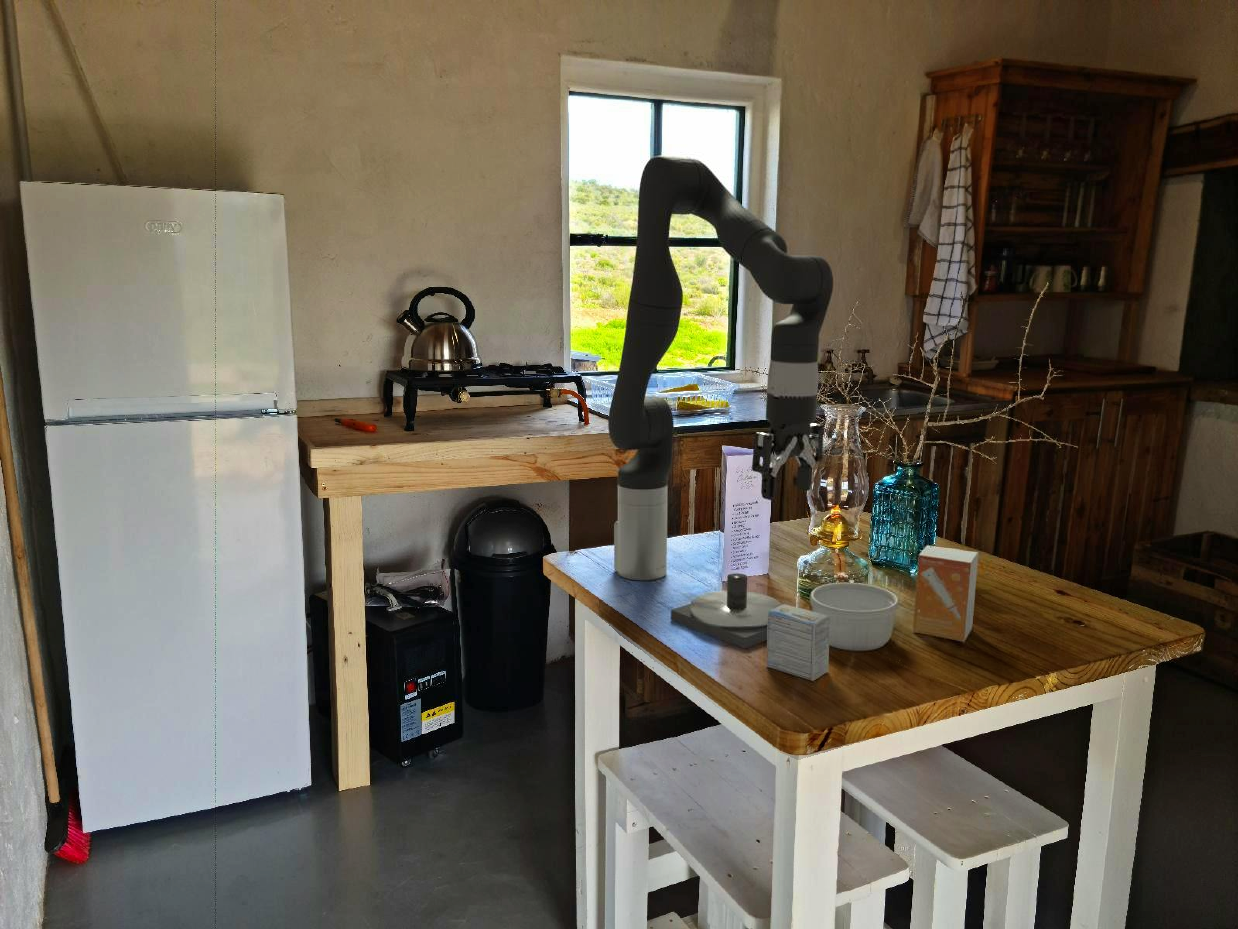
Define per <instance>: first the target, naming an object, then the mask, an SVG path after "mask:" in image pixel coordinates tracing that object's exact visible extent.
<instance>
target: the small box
mask: <svg viewBox="0 0 1238 929" xmlns="http://www.w3.org/2000/svg"><path fill="white" fill-rule="evenodd" d="M978 564H979V552H978V551H969V550H963V549H958V548H951V547H942V546H941V547H940V546H934V545H926V546H925V547H924V548H923V549H922V551H921V552H920V553H919V554H918V558H917V570H916V583H915V595H914V596H915V598H914V607H913V623H912V633H915V634H916V633H917V634H921V635H922V634H923V635H928V636H931V637H932V636H934V637H938V638H943V639H946V640H951V641H952V640H953V641H956V642H957V641H958V642H962V643H965V641H966V640H967V638H968V636H969V634H970V633H971V630H972V628H973V622H974V621H973V619H974V611H975V610H974V608H975V598H976V585H977V573H978Z"/></svg>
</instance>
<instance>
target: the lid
mask: <svg viewBox="0 0 1238 929" xmlns="http://www.w3.org/2000/svg"><path fill="white" fill-rule="evenodd" d="M726 577H727V578H726V579H727V580H726V581H727V582H726V584H727V585H726V590H719V591H717V590H716V591H711V592H706V593H703V594H700V595H698V596H696V597H694V598H693V599H692V600H690V603H689V604H690V614H691V616H692V617H693V618H694V619H695V620H697V621H698V622H700V623H703V624H705V625H708V626H712V627H716V628H722V629H730V630H754V629H761V628H766V627H767V626H768V612H769V611H771V610H773V609H774V608H776V607H779V606H781V605H783V604H782V602H780V601H779V600H778V599H776V598H774V597H772V596H769V595H766V594H763V593H758V592H753V591H748V576H747V575H746V574H743V573H739V572H736V573H735V572H734V573H729V574H727V576H726Z"/></svg>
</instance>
